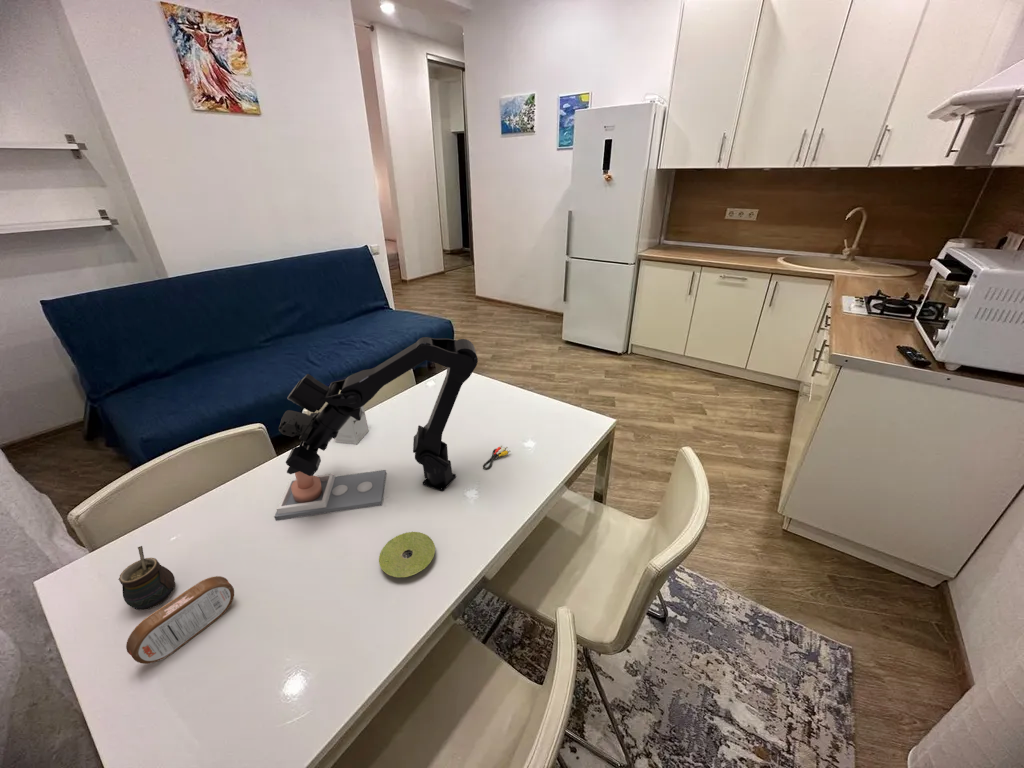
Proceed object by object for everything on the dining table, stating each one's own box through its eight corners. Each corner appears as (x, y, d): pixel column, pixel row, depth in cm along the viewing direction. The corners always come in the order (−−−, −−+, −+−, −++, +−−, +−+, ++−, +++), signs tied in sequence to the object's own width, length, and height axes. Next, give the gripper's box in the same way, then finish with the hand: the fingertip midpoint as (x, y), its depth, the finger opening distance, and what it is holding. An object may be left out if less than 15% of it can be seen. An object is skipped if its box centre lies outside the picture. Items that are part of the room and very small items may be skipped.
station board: (386, 473, 109) (384, 465, 107) (381, 505, 98) (379, 496, 97) (290, 486, 105) (287, 477, 104) (275, 520, 94) (272, 511, 93)
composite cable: (487, 472, 109) (486, 465, 108) (474, 465, 112) (474, 457, 110) (511, 455, 115) (511, 448, 114) (499, 448, 118) (499, 441, 117)
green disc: (372, 555, 85) (370, 549, 84) (421, 529, 91) (420, 523, 90) (393, 594, 77) (391, 587, 76) (445, 563, 83) (444, 556, 82)
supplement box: (357, 445, 120) (348, 408, 115) (335, 442, 122) (325, 406, 116) (369, 431, 127) (362, 396, 121) (348, 429, 128) (339, 394, 122)
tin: (234, 594, 78) (219, 565, 74) (243, 603, 76) (227, 573, 72) (139, 666, 67) (114, 635, 63) (146, 677, 65) (122, 646, 61)
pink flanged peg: (325, 495, 100) (320, 466, 96) (297, 506, 96) (291, 477, 92) (317, 481, 104) (311, 452, 100) (290, 491, 100) (283, 462, 96)
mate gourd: (130, 624, 73) (103, 587, 69) (134, 593, 79) (109, 557, 74) (179, 601, 77) (156, 565, 72) (179, 574, 82) (158, 538, 78)
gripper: (307, 382, 97) (271, 427, 100) (283, 424, 80) (242, 476, 84) (349, 407, 102) (313, 448, 105) (334, 451, 85) (293, 499, 89)
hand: (291, 465), depth 96 cm, fingers open, 5 cm apart
